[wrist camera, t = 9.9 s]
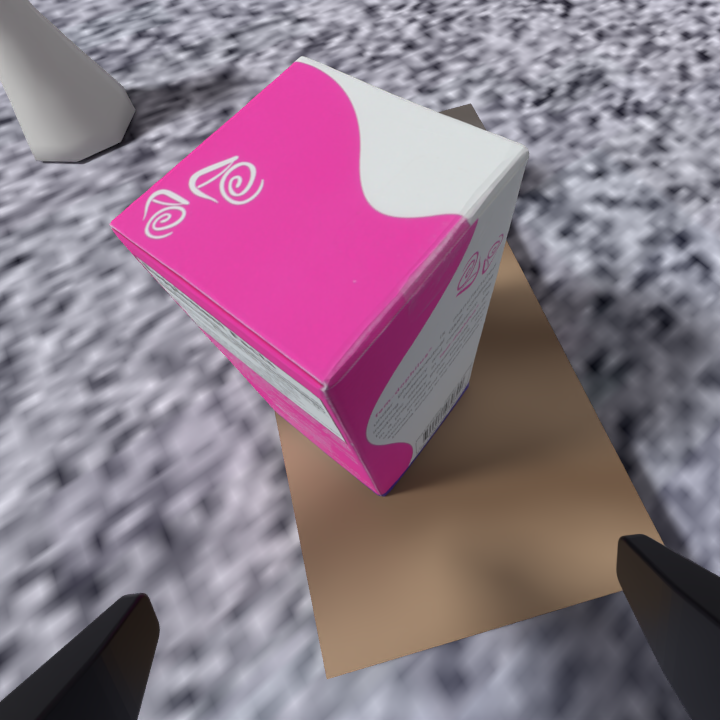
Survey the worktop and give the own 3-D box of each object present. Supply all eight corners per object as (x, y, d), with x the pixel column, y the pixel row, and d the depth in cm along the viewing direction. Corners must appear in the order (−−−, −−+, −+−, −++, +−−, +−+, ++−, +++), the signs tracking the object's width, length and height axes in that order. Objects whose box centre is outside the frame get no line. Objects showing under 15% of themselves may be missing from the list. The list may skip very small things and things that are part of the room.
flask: (36, 102, 31) (-116, -87, 22) (138, 79, 31) (28, -120, 22) (23, 177, 28) (-159, -6, 19) (136, 152, 28) (7, -44, 19)
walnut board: (656, 572, 16) (739, 575, 12) (333, 669, 16) (308, 705, 12) (460, 179, 25) (470, 103, 21) (246, 239, 24) (214, 173, 20)
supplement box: (357, 311, 20) (304, 39, 10) (471, 386, 18) (556, 148, 8) (269, 410, 19) (92, 215, 8) (383, 504, 17) (341, 404, 6)
